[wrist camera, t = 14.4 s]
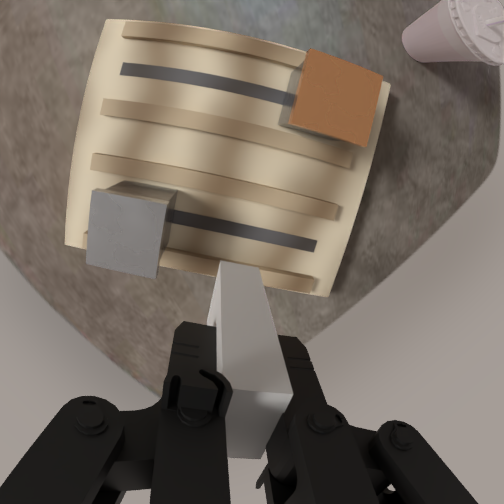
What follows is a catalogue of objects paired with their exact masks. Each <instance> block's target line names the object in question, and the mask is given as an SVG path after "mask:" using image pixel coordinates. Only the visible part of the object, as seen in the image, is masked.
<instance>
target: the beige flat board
mask: <svg viewBox="0 0 504 504" xmlns="http://www.w3.org/2000/svg"><path fill="white" fill-rule="evenodd" d="M305 56H306V52H305V51H302V50H299V49H295V48H292V47H288V46H285V45H281V44H278V43H274V42H270V41H266V40H262V39H258V38H254V37H250V36H245V35H241V34H236V33H231V32H226V31H221V30H215V29H209V28H203V27H197V26H190V25H182V24H174V23H164V22H153V21H139V20H117V19H107V20H106V22H105V25H104V28H103V31H102V34H101V37H100V40H99V43H98V47H97V50H96V53H95V57H94V60H93V63H92V67H91V71H90V74H89V78H88V82H87V86H86V90H85V94H84V99H83V103H82V108H81V112H80V117H79V122H78V128H77V133H76V139H75V145H74V151H73V158H72V165H71V173H70V181H69V190H68V201H67V213H66V229H65V245H69V246H73V247H77V248H82V249H86V250H87V235H88V222H89V212H90V202H91V193H92V190H94V189H96V188H100V189H107V188H109V187H111V186H113V185H115V184H117V183H119V182H121V181H124V180H128V181H133V182H139V183H144V184H150V185H155V186H160V187H165V188H171V189H176V190H178V192H177V198H176V203H175V208H174V214H173V219H172V225H171V231H170V236H169V243H168V245H167V247H166V249H165V251H164V253H163V255H162V257H161V259H160V263H159V265H160V266H164V267H169V268H174V269H179V270H184V271H189V272H194V273H199V274H204V275H209V276H214V277H217V273H218V269H219V264H220V260H221V261H226V262H232V263H237V264H242V265H247V266H253V267H258V268H259V270H260V274H261V277H262V281H263V285H264V286H267V287H272V288H278V289H284V290H289V291H295V292H300V293H306V294H312V295H318V296H324V297H329V294H330V291H331V288H332V286H333V283H334V280H335V277H336V275H337V272H338V269H339V266H340V263H341V260H342V257H343V254H344V251H345V248H346V245H347V242H348V239H349V236H350V233H351V230H352V227H353V224H354V221H355V218H356V215H357V211H358V208H359V205H360V201H361V198H362V195H363V191H364V188H365V185H366V181H367V178H368V174H369V171H370V167H371V163H372V160H373V156H374V152H375V148H376V145H377V141H378V137H379V133H380V129H381V125H382V121H383V116H384V112H385V108H386V104H387V99H388V95H389V90H390V85H391V84H389V83H386V82H384V81H382V85H381V89H380V94H379V98H378V102H377V107H376V111H375V115H374V119H373V123H372V127H371V131H370V135H369V139H368V143H367V147H360V146H357V145H355V144H352V143H349V142H346V141H332V140H328V139H325V138H322V137H319V136H315V135H312V134H309V133H305V132H302V131H298V130H295V129H291V128H288V127H284V126H280V125H278V122H279V118H280V114H281V110H282V106H283V102H284V98H285V95H286V91H287V87H288V83H289V79H290V76H291V72H292V71H293V70H295V69H296V68H297V67H298V66H299V65H300V64H301V63H302V62H303V61H304V60H305Z"/></svg>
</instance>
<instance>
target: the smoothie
mask: <svg viewBox="0 0 504 504" xmlns="http://www.w3.org/2000/svg"><path fill="white" fill-rule="evenodd" d="M402 43H403V46H404V48H405V50H406V52H407V53H408V54H409V55H410V56H411V57H412V58H413V59H415V60H416V61H418V62H422V63H427V62H452V61H475V62H485V63H486V64H489V65H493V66H498V65H502V64H504V7H503V6H502V4H501V3H500V2H499V0H441V1H440V2H439V3H437V4H436V5H435V6H433V7H432V8H431V9H430V10H428V11H427V12H426V13H424V14H423V15H422V16H421V17H419V18H418V19H417V20H415V21H414V22H413V23H412V24H410V25H409V26H408V27H407V28H405V29H404V31H403V33H402Z"/></svg>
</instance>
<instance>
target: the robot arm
mask: <svg viewBox="0 0 504 504" xmlns="http://www.w3.org/2000/svg"><path fill="white" fill-rule="evenodd" d="M265 449H266V452H267V458H268V464H267V465H266V467H265V469H264V470H263V472H262V474H261V475H260V477H259V479H258V480H257V482H256V488H257V489H259V488H260V487H261V486H262V484H263V483H264V486H265V493H266V499H267V504H478V503H477V502H476V501H475V499H474V498H473V497H472V496H471V494H470V493H469V492H468V491H467V489H465V487H464V486H463V485H462V483H461V482H460V481H459V480H458V479H457V477H456V476H455V475H454V474H453V473H452V472H451V470H450V469H449V468H448V467H447V466H446V465H445V463H444V462H443V461H442V459H441V458H440V457H439V456H438V455H437V454H436V452H435V451H434V450H433V449H432V447H431V446H430V445H429V444H428V443H427V442H426V440H425V439H424V438H423V437H422V436H421V434H420V433H419V432H418V431H417V430H416V429H415V428H414V427H412V426H411V425H409V424H407V423H405V422H402V421H397V420H393V421H387V422H386V423H384V424H383V425H381V427H380V428H379V429H378V431H372V430H367V429H362V428H358V427H354V426H351V425H349V424H348V422H347V420H346V418H345V417H344V415H343V414H342V413H341V412H339V411H338V410H337V409H336V408H334V407H332V406H329V405H327V402H326V400H325V397H324V394H323V392H322V389H321V386H320V384H319V381H318V378H317V376H316V373H315V371H314V368H313V365H312V362H311V361H310V357H309V354H308V351H307V349H306V347H305V346H304V345H303V344H302V343H301V342H300V341H299V339H298V338H297V337H291V336H283V335H277V332H276V329H275V325H274V321H273V318H272V314H271V310H270V307H269V303H268V299H267V296H266V292H265V288H264V285H263V281H262V277H261V274H260V270H259V268H258V267H253V266H247V265H242V264H237V263H232V262H226V261H221V260H220V264H219V269H218V273H217V278H216V282H215V287H214V291H213V296H212V300H211V305H210V310H209V314H208V319H207V325H202V324H197V323H191V322H186V321H183V322H182V323H181V324H180V325H179V326H178V327H177V328H176V329H175V333H174V338H173V344H172V349H171V355H170V361H169V367H168V373H167V376H166V378H165V380H164V384H163V394H162V398H161V399H160V400H159V401H158V402H157V403H156V404H154V405H153V406H151V407H148V408H146V409H142V410H135V411H119V410H118V409H117V407H116V406H115V405H113V404H112V403H110V402H109V401H107V400H105V399H102V398H99V397H95V396H81V397H78V398H75V399H71V400H70V401H69V402H68V403H66V404H65V405H64V406H63V407H62V408H61V409H60V411H59V412H58V413H57V414H56V416H55V417H54V418H53V419H52V421H51V422H50V423H49V424H48V426H47V427H46V428H45V429H44V431H43V432H42V433H41V434H40V436H39V437H38V438H37V439H36V441H35V442H34V443H33V445H32V446H31V447H30V448H29V450H28V451H27V452H26V454H25V455H24V456H23V458H22V459H21V460H20V461H19V463H18V464H17V465H16V467H15V468H14V469H13V471H12V472H11V474H10V475H9V476H8V477H7V479H6V480H5V482H4V483H3V484H2V486H1V487H0V504H120V503H121V501H122V499H123V497H124V495H125V493H126V491H130V490H141V489H151V496H150V504H231V501H230V489H229V474H228V459H227V457H230V458H246V459H261V457H262V455H263V453H264V451H265ZM390 484H392V485H393V487H394V488H395V491H391V490H389V489H388V488H387V487H388V486H389V485H390Z"/></svg>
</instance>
